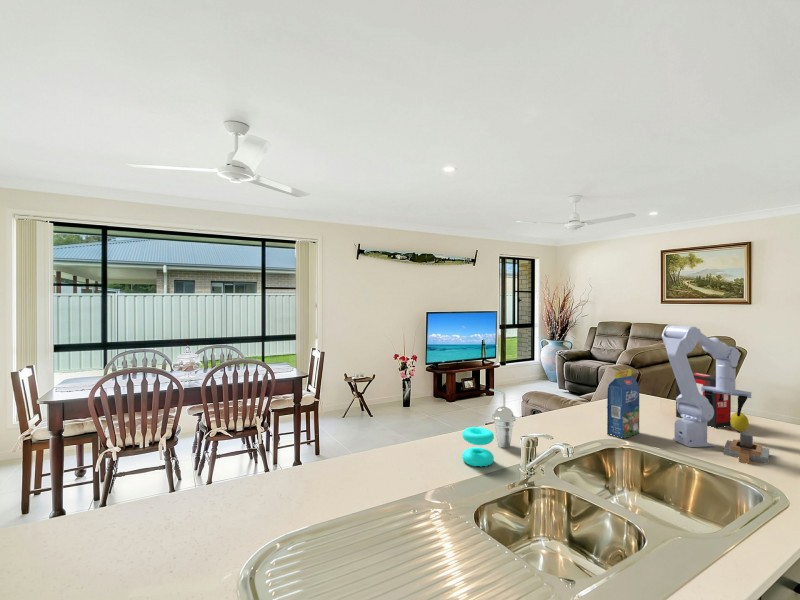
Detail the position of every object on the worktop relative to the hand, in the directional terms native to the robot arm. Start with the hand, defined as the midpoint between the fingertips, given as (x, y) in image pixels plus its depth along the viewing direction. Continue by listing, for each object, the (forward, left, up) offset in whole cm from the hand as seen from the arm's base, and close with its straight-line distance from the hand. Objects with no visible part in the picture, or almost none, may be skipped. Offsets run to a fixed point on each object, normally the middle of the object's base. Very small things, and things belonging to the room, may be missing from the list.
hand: (725, 413), depth 148 cm
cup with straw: (-87, -1, -10) cm, 88 cm away
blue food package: (-36, +7, -10) cm, 38 cm away
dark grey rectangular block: (-7, -15, -9) cm, 19 cm away
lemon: (+12, +6, -10) cm, 17 cm away
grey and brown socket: (-9, -16, -9) cm, 21 cm away
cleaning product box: (+9, +20, -10) cm, 24 cm away
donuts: (-100, -14, -10) cm, 101 cm away
